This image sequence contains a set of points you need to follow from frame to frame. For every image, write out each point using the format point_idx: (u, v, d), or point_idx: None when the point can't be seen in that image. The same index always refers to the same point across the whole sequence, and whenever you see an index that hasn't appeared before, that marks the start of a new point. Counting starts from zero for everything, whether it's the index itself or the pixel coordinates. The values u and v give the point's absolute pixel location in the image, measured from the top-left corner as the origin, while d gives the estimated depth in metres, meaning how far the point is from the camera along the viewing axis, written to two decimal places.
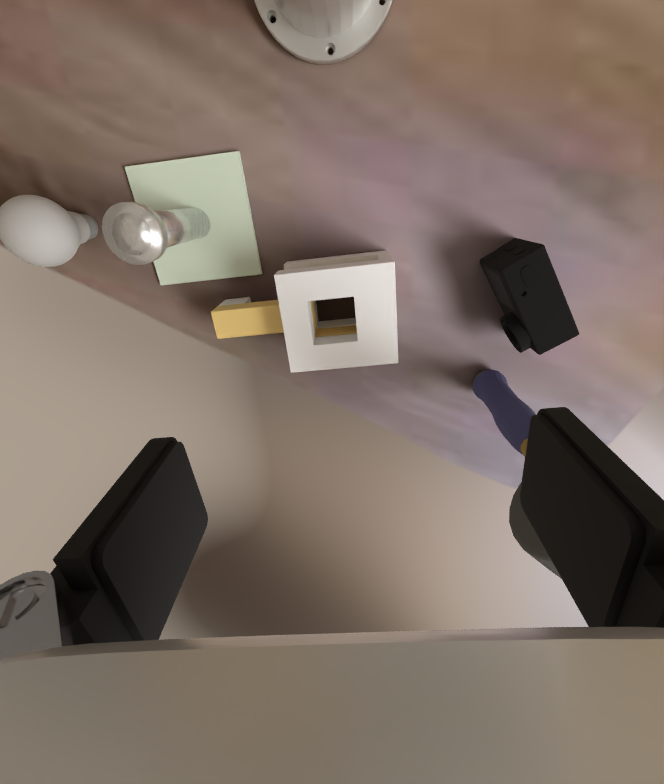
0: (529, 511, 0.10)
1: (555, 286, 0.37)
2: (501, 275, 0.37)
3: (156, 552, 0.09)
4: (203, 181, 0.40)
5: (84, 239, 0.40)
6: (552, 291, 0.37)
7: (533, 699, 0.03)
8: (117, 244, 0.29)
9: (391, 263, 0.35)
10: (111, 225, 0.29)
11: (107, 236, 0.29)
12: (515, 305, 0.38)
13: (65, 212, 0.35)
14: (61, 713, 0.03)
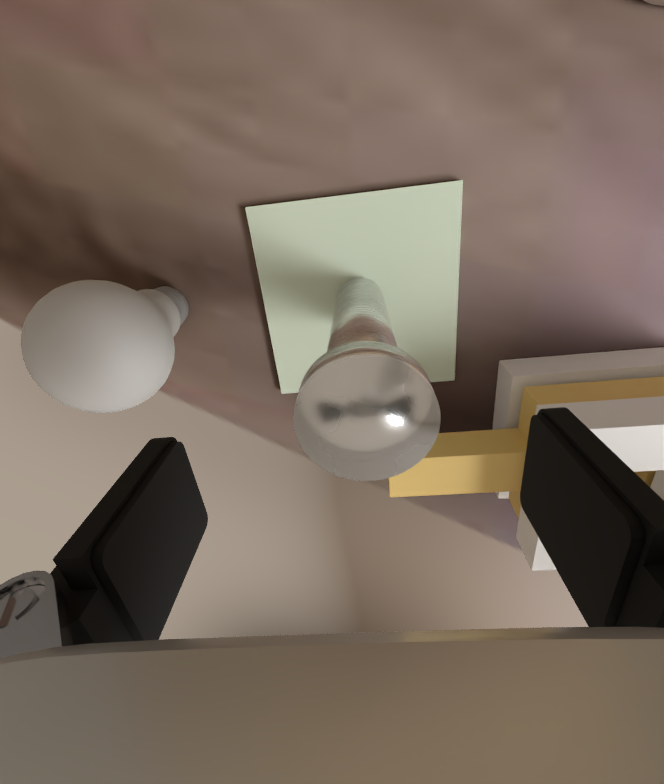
0: (529, 511, 0.10)
1: None
2: None
3: (156, 552, 0.09)
4: (385, 233, 0.22)
5: (172, 337, 0.22)
6: None
7: (532, 697, 0.03)
8: (323, 442, 0.12)
9: None
10: (319, 405, 0.11)
11: (302, 426, 0.12)
12: None
13: (155, 310, 0.18)
14: (61, 713, 0.03)
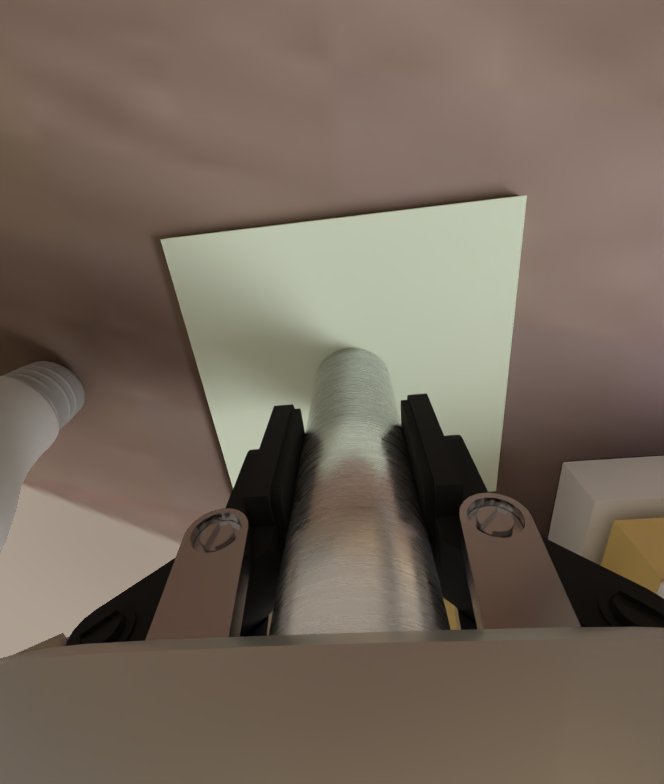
0: None
1: None
2: None
3: None
4: (394, 281, 0.13)
5: (40, 454, 0.13)
6: None
7: (533, 698, 0.03)
8: None
9: None
10: None
11: None
12: None
13: None
14: (61, 713, 0.03)
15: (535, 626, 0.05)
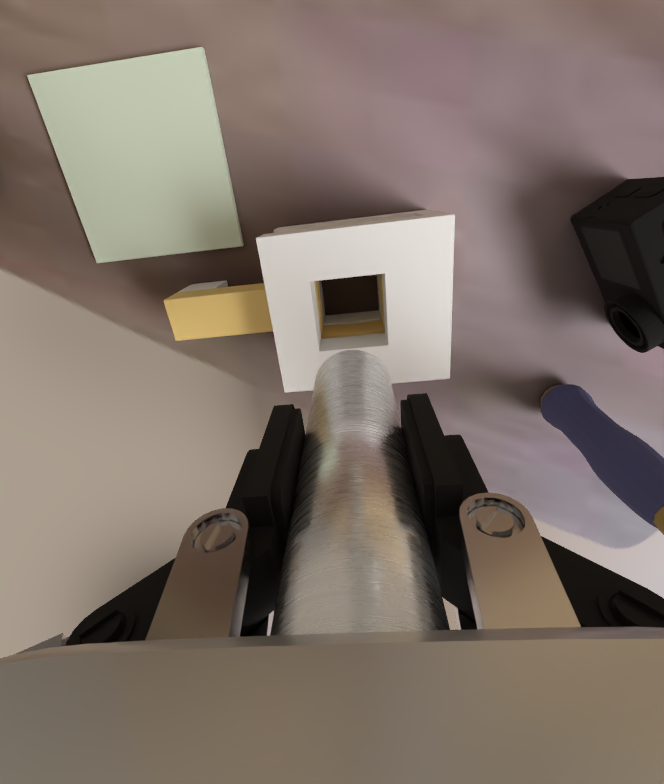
0: None
1: None
2: (628, 231, 0.23)
3: None
4: (149, 99, 0.26)
5: None
6: None
7: (532, 698, 0.03)
8: None
9: (449, 217, 0.21)
10: None
11: None
12: (646, 279, 0.24)
13: None
14: (61, 713, 0.03)
15: (535, 626, 0.05)
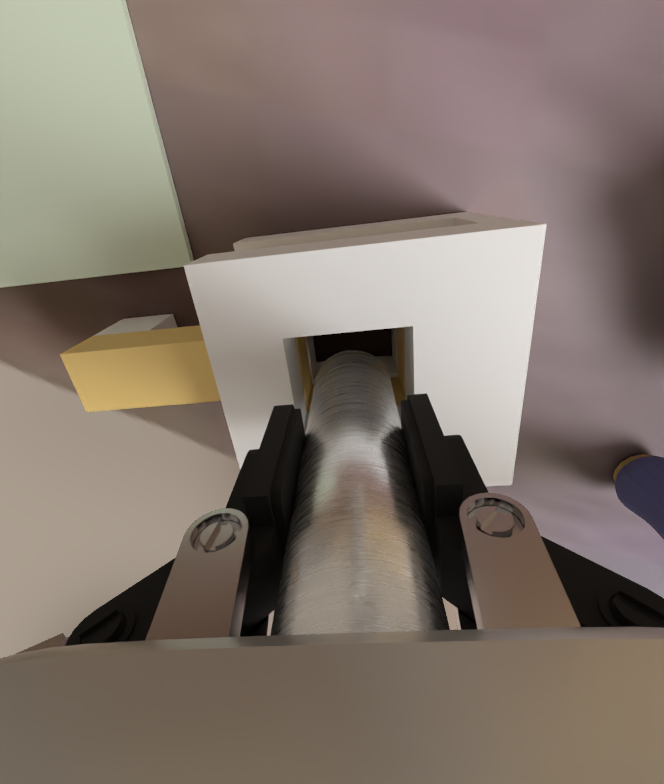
0: None
1: None
2: None
3: None
4: (29, 34, 0.16)
5: None
6: None
7: (532, 698, 0.03)
8: None
9: (535, 229, 0.11)
10: None
11: None
12: None
13: None
14: (61, 713, 0.03)
15: (534, 626, 0.05)
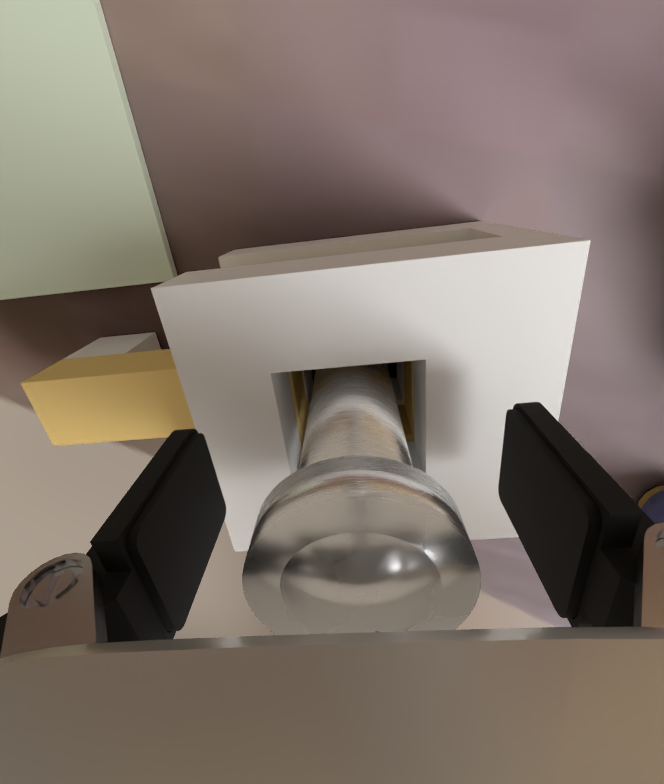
0: (506, 502, 0.10)
1: None
2: None
3: (182, 538, 0.09)
4: None
5: None
6: None
7: (533, 699, 0.03)
8: (293, 613, 0.07)
9: (577, 246, 0.09)
10: (283, 566, 0.07)
11: (258, 593, 0.07)
12: None
13: None
14: (61, 713, 0.03)
15: None
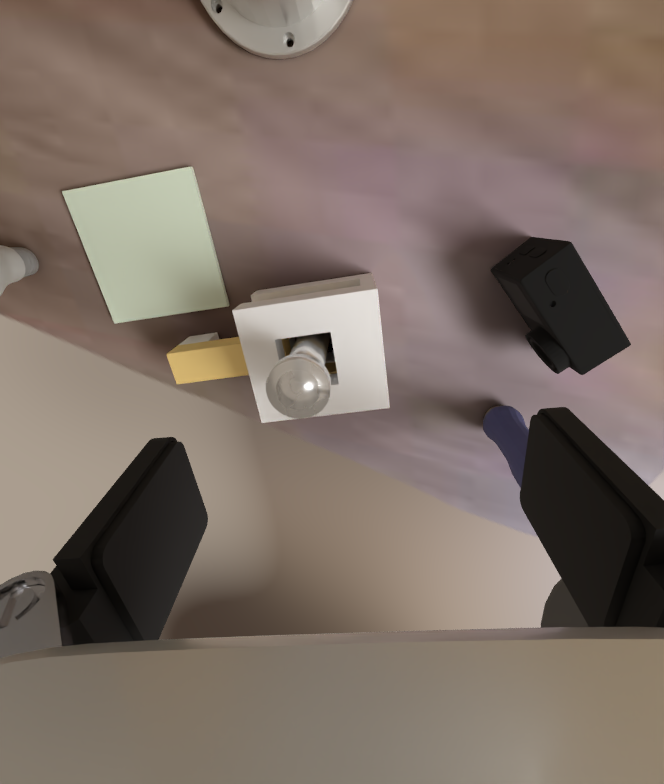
0: (529, 511, 0.10)
1: (592, 290, 0.29)
2: (521, 285, 0.30)
3: (156, 552, 0.09)
4: (153, 203, 0.34)
5: (17, 276, 0.34)
6: (589, 297, 0.30)
7: (533, 698, 0.03)
8: (280, 399, 0.26)
9: (373, 290, 0.28)
10: (276, 382, 0.26)
11: (270, 392, 0.26)
12: (543, 319, 0.31)
13: None
14: (61, 713, 0.03)
15: None
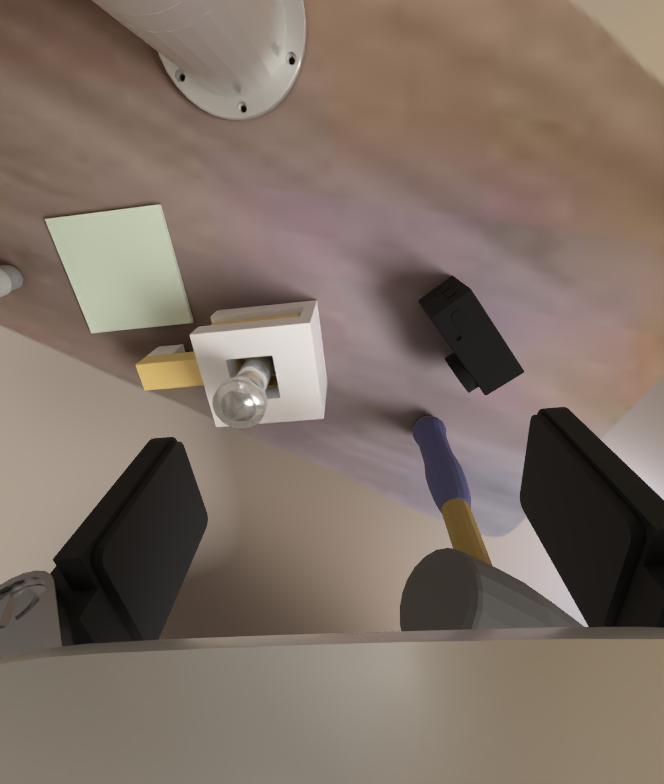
0: (529, 511, 0.10)
1: (490, 328, 0.36)
2: None
3: (156, 552, 0.09)
4: (125, 233, 0.39)
5: (4, 292, 0.39)
6: (488, 333, 0.36)
7: (532, 698, 0.03)
8: (224, 413, 0.32)
9: (307, 324, 0.34)
10: (221, 399, 0.32)
11: (216, 407, 0.32)
12: (452, 349, 0.37)
13: None
14: (61, 713, 0.03)
15: None
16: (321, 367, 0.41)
